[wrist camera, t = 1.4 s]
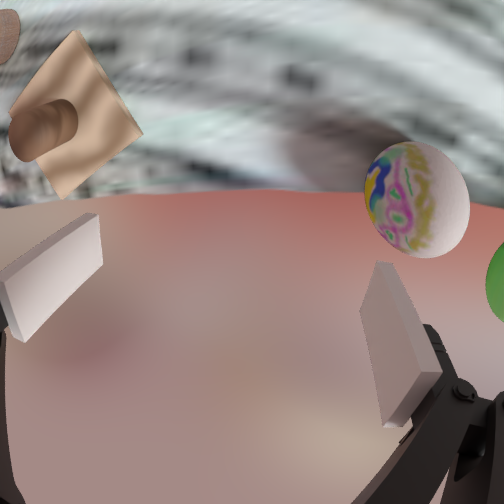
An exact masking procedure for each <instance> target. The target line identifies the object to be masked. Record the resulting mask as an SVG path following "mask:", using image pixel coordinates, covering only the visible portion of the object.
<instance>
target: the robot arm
mask: <svg viewBox="0 0 504 504" xmlns="http://www.w3.org/2000/svg"><path fill="white" fill-rule="evenodd" d="M101 265H103V258H102V249H101V238H100V227H99V215H98V214H92V213H85V214H84V215H82V216H81V217H79V218H77V219H76V220H74V221H73V222H71V223H69V224H68V225H66V226H65V227H63V228H62V229H60V230H59V231H57V232H56V233H54V234H52V235H51V236H49V237H48V238H47V239H45V240H44V241H42V242H41V243H39V244H38V245H36V246H35V247H33V248H32V249H30V250H29V251H28V252H26V253H25V254H24V255H22V256H20V257H19V258H18V259H17V260H15V261H14V262H12V263H11V264H9V265H8V266H7V267H5V268H4V269H3V270H1V271H0V504H26V503H25V501H24V499H23V496H22V495H21V493H20V491H19V490H18V488H17V486H16V484H15V481H14V477H13V472H12V466H11V459H10V452H9V445H8V435H7V424H6V409H5V351H6V333H5V331H4V329H5V328H6V327H7V326H8V325H9V328H10V330H11V333H12V335H13V337H14V338H16V339H19V340H20V341H22V342H24V343H25V342H26V341H27V340H28V339H29V338H30V337H31V336H32V335H33V334H34V333H35V332H36V330H37V329H38V328H39V327H40V326H41V325H42V324H43V323H44V322H45V321H46V320H47V319H48V318H49V317H50V315H51V314H53V312H55V311H56V309H57V308H58V307H59V306H60V305H61V304H62V303H63V302H64V301H65V300H66V299H67V298H68V297H69V296H70V295H71V294H72V293H73V292H74V291H75V290H76V289H77V288H78V287H79V286H80V285H82V284H83V283H84V282H85V281H86V280H87V279H88V278H89V277H90V276H91V275H92V274H93V273H94V272H95V271H96V270H97V269H98V268H99V267H100V266H101ZM360 315H361V319H362V323H363V328H364V332H365V336H366V341H367V345H368V350H369V354H370V359H371V364H372V369H373V374H374V379H375V384H376V390H377V395H378V401H379V407H380V413H381V419H382V425H383V427H403V426H404V424H405V423H406V422H407V421H408V420H409V418H410V417H411V419H412V423H413V427H412V428H411V429H410V430H409V431H408V433H407V434H406V435H405V436H404V437H403V438H402V439H401V441H400V442H399V443H400V444H399V446H398V447H397V448H396V450H395V451H394V453H393V454H392V455H391V456H390V458H389V459H388V460H387V462H386V463H385V464H384V466H383V467H382V468H381V469H380V471H379V472H378V473H377V474H376V476H375V477H374V478H373V479H372V480H371V482H370V483H369V484H368V485H367V486H366V488H365V489H364V490H363V491H362V492H361V493H360V494H359V496H358V497H357V498H356V499H355V500H354V501H353V502H352V503H351V504H429V503H430V501H431V500H432V498H433V496H434V495H435V493H436V491H437V489H438V488H439V486H440V484H441V482H442V481H443V479H444V477H445V475H446V473H447V471H448V469H449V473H448V477H447V481H446V484H445V488H444V492H443V495H442V499H441V502H440V504H504V391H503V392H500V393H499V394H498V395H497V396H496V398H495V399H494V400H493V401H492V400H488V399H484V398H480V397H478V395H477V392H476V390H475V389H474V387H473V386H472V385H471V384H470V383H469V382H467V381H466V380H463V379H461V378H458V376H457V374H456V372H455V369H454V367H453V365H452V363H451V360H450V358H449V356H448V354H447V353H446V349H445V347H444V345H442V344H443V343H442V340H441V338H440V336H439V334H438V333H437V332H436V331H435V330H434V329H433V328H432V326H431V325H428V324H422V322H421V320H420V318H419V316H418V314H417V311H416V309H415V307H414V305H413V303H412V301H411V299H410V297H409V295H408V293H407V291H406V289H405V287H404V285H403V283H402V281H401V279H400V277H399V275H398V273H397V271H396V269H395V268H394V266H393V264H392V263H388V262H383V261H377V262H376V265H375V268H374V271H373V274H372V277H371V280H370V283H369V286H368V289H367V292H366V294H365V297H364V300H363V303H362V306H361V308H360ZM449 467H450V468H449Z"/></svg>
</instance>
